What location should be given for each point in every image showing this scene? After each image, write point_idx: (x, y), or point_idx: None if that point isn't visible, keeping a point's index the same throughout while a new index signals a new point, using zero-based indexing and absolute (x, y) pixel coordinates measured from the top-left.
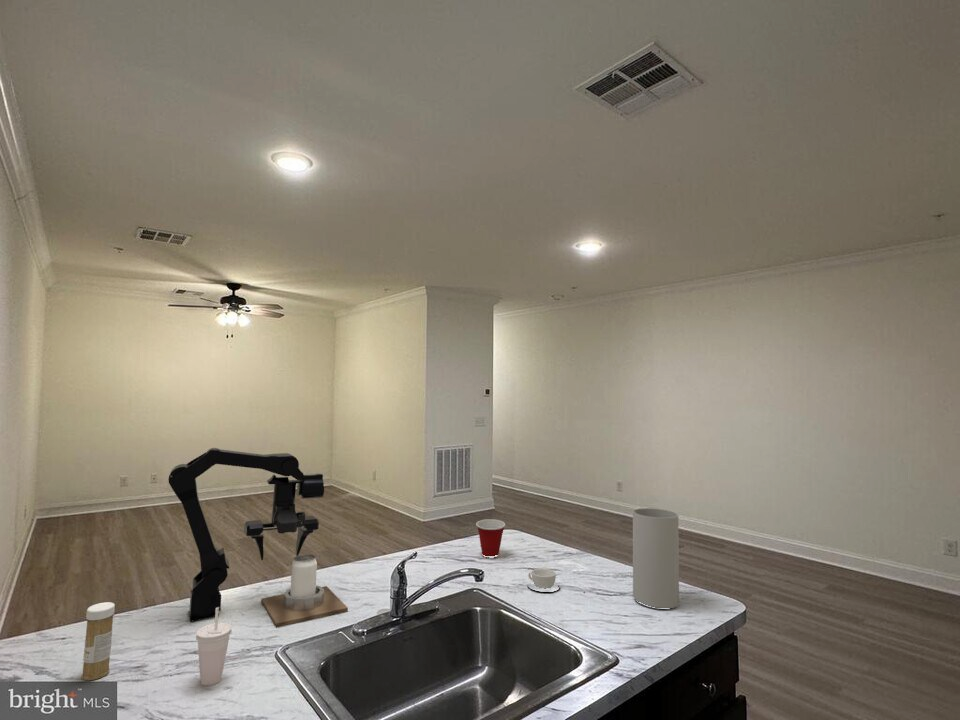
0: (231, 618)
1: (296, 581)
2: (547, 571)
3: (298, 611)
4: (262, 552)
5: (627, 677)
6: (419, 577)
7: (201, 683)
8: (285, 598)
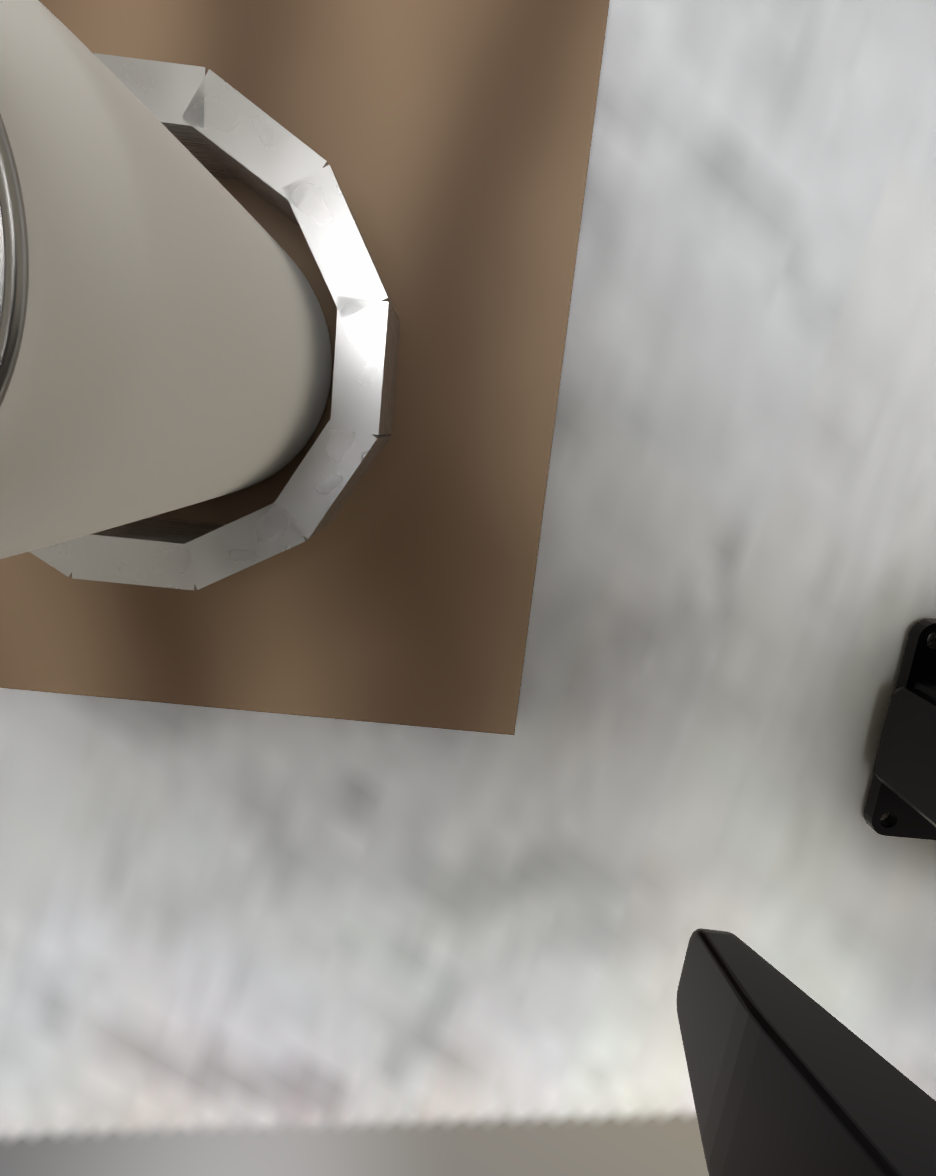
0: (841, 520)
1: (211, 182)
2: None
3: None
4: (826, 1063)
5: None
6: None
7: None
8: (389, 337)
